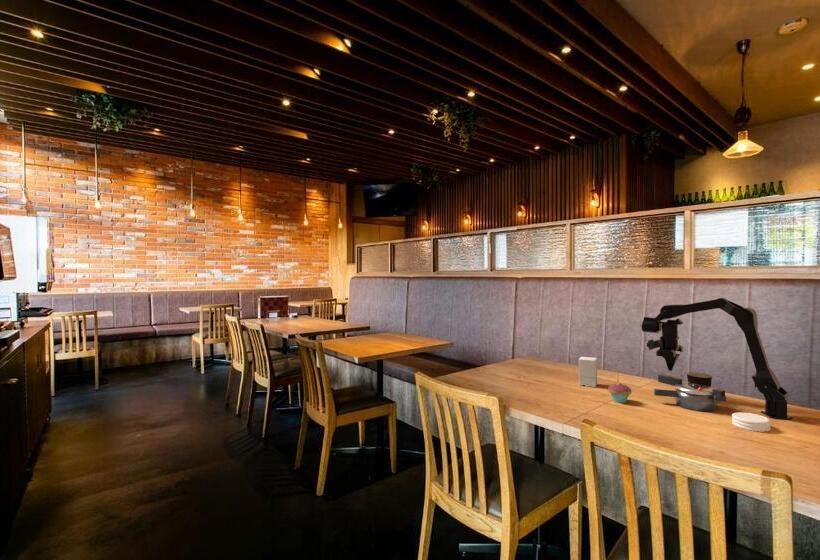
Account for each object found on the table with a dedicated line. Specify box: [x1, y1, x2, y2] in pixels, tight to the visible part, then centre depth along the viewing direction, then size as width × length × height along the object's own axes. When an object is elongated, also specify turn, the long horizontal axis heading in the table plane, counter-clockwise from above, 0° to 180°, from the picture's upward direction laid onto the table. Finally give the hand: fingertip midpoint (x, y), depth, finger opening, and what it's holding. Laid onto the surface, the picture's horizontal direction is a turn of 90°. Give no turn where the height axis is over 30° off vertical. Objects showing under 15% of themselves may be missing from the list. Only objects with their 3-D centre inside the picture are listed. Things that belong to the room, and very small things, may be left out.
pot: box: [653, 388, 727, 413], centre depth 159 cm, size 24×13×6 cm, turn 68°
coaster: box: [731, 411, 771, 433], centre depth 137 cm, size 10×10×4 cm
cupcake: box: [607, 373, 632, 404], centre depth 166 cm, size 9×8×12 cm
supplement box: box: [578, 356, 598, 388], centre depth 191 cm, size 7×7×13 cm
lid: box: [657, 374, 726, 397], centre depth 160 cm, size 24×14×3 cm, turn 23°
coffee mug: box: [686, 372, 713, 387], centre depth 169 cm, size 12×9×10 cm
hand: (670, 370), depth 172 cm, fingers closed
